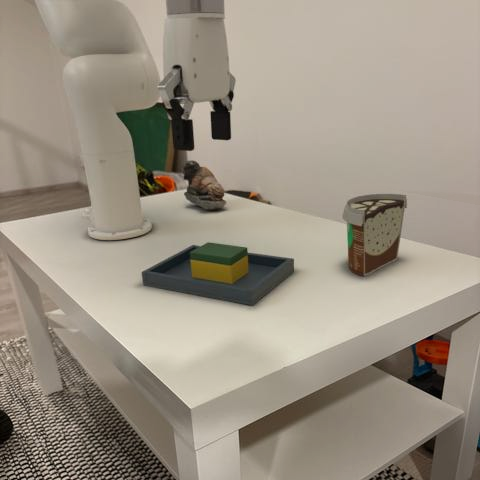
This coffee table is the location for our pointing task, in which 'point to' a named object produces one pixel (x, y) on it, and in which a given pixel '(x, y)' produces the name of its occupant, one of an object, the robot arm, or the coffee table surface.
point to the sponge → (219, 262)
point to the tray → (242, 291)
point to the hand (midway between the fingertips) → (203, 144)
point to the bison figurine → (203, 187)
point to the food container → (373, 230)
